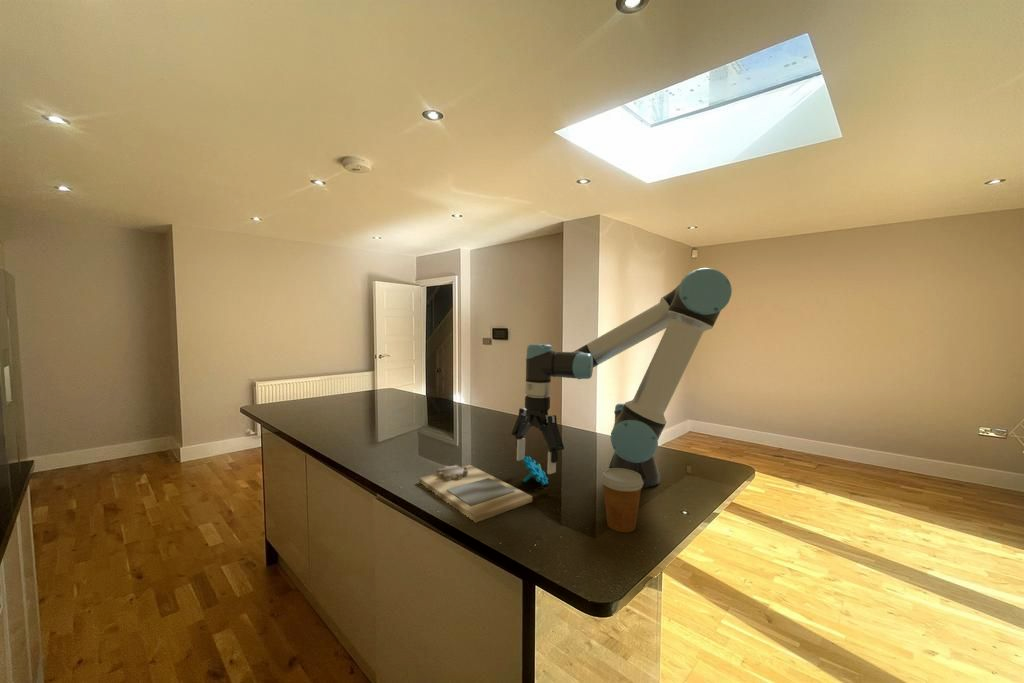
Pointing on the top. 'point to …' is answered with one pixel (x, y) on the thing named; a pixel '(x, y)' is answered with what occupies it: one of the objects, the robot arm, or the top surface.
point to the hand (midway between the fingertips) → (535, 466)
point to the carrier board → (474, 491)
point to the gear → (535, 471)
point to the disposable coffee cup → (621, 498)
